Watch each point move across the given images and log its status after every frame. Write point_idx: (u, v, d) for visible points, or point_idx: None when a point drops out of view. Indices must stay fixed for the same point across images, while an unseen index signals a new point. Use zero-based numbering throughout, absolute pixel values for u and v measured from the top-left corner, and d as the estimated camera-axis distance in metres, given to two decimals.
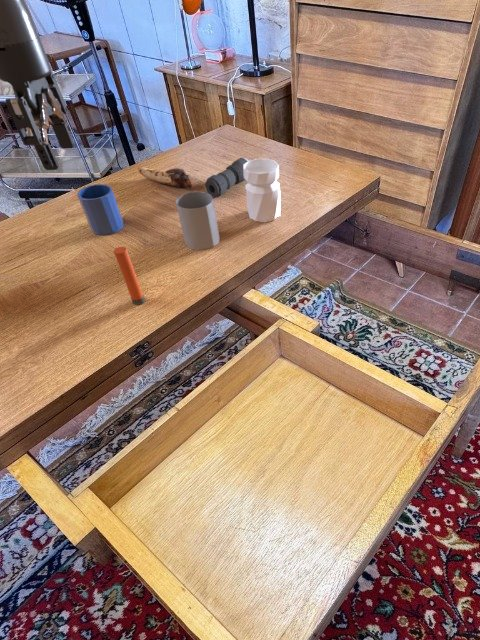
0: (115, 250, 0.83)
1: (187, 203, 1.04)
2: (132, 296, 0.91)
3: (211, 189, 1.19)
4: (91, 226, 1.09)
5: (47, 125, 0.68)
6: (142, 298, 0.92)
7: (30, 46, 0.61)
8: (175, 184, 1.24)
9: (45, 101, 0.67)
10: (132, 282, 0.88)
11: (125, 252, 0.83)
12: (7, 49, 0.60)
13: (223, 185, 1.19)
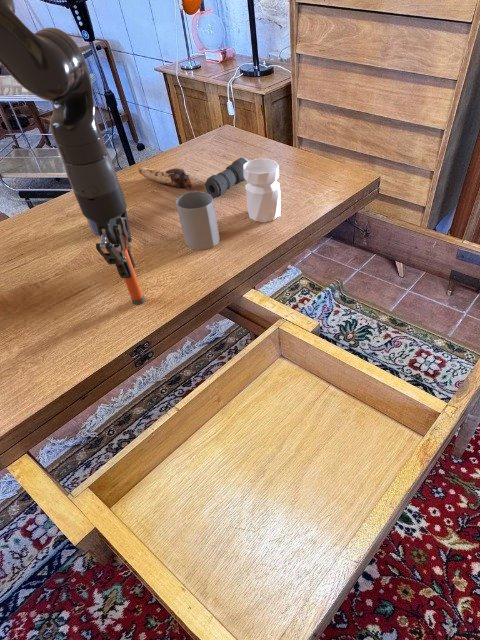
0: None
1: (187, 203, 1.04)
2: (132, 296, 0.91)
3: (211, 189, 1.19)
4: (91, 226, 1.09)
5: (124, 247, 0.81)
6: (142, 298, 0.92)
7: (113, 194, 0.74)
8: (175, 184, 1.24)
9: (120, 230, 0.79)
10: (132, 281, 0.88)
11: (125, 252, 0.83)
12: (96, 199, 0.72)
13: (223, 185, 1.19)
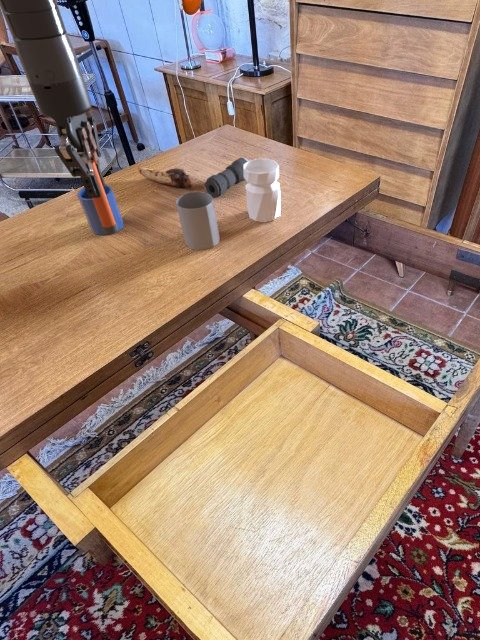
0: None
1: (187, 203, 1.04)
2: (103, 222, 0.80)
3: (211, 189, 1.19)
4: (91, 226, 1.09)
5: (90, 157, 0.71)
6: (114, 226, 0.81)
7: (74, 84, 0.63)
8: (175, 184, 1.24)
9: (85, 134, 0.69)
10: (102, 203, 0.78)
11: (92, 165, 0.73)
12: (53, 87, 0.62)
13: (223, 185, 1.19)
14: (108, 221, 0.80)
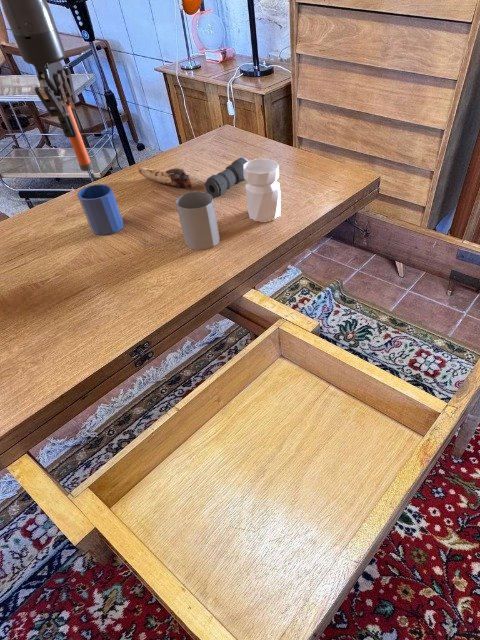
0: None
1: (187, 203, 1.04)
2: (79, 161, 0.95)
3: (211, 189, 1.19)
4: (91, 226, 1.09)
5: (66, 100, 0.86)
6: (89, 164, 0.96)
7: (50, 35, 0.78)
8: (175, 184, 1.24)
9: (60, 80, 0.84)
10: (77, 143, 0.93)
11: (68, 108, 0.88)
12: (32, 37, 0.77)
13: (223, 185, 1.19)
14: (83, 159, 0.95)
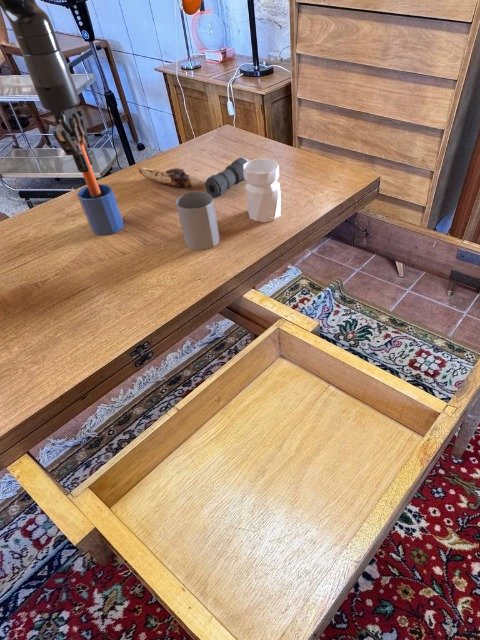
0: None
1: (187, 203, 1.04)
2: (91, 192, 1.04)
3: (211, 189, 1.19)
4: (91, 226, 1.09)
5: (80, 140, 0.95)
6: (100, 195, 1.06)
7: (66, 86, 0.87)
8: (175, 184, 1.24)
9: (75, 123, 0.93)
10: (89, 176, 1.02)
11: (81, 146, 0.97)
12: (51, 89, 0.86)
13: (223, 185, 1.19)
14: (95, 191, 1.04)
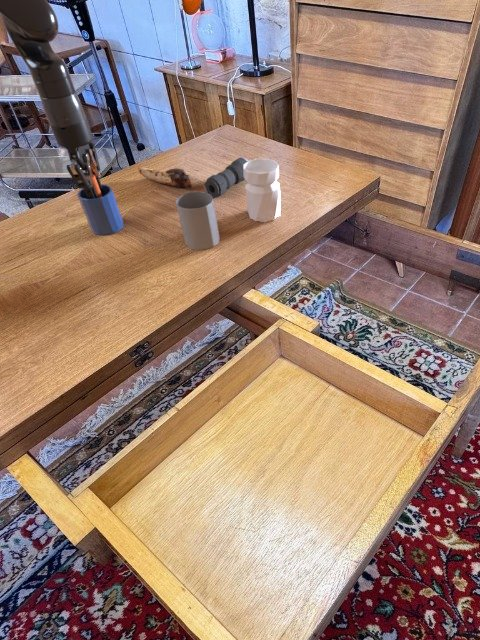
0: None
1: (187, 203, 1.04)
2: None
3: (211, 189, 1.19)
4: (91, 226, 1.09)
5: (91, 174, 1.00)
6: None
7: (81, 125, 0.93)
8: (175, 184, 1.24)
9: (88, 158, 0.98)
10: None
11: (93, 177, 1.02)
12: (66, 128, 0.92)
13: (223, 185, 1.19)
14: None
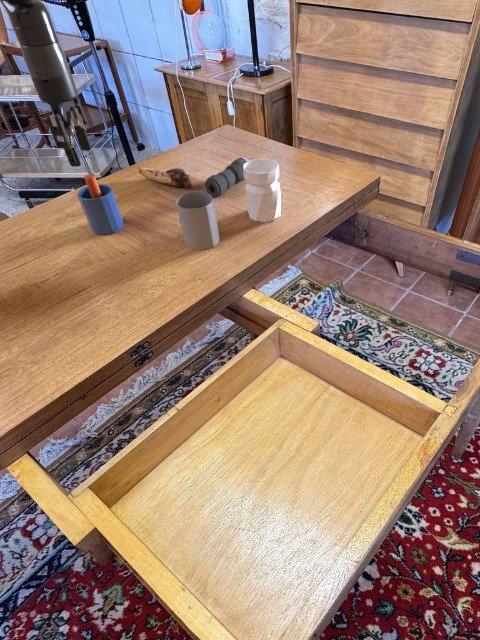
0: (85, 176, 1.03)
1: (187, 203, 1.04)
2: None
3: (211, 189, 1.19)
4: (91, 226, 1.09)
5: (74, 134, 0.93)
6: None
7: (64, 78, 0.87)
8: (175, 184, 1.24)
9: (73, 116, 0.92)
10: None
11: (93, 177, 1.02)
12: (49, 81, 0.85)
13: (223, 185, 1.19)
14: None
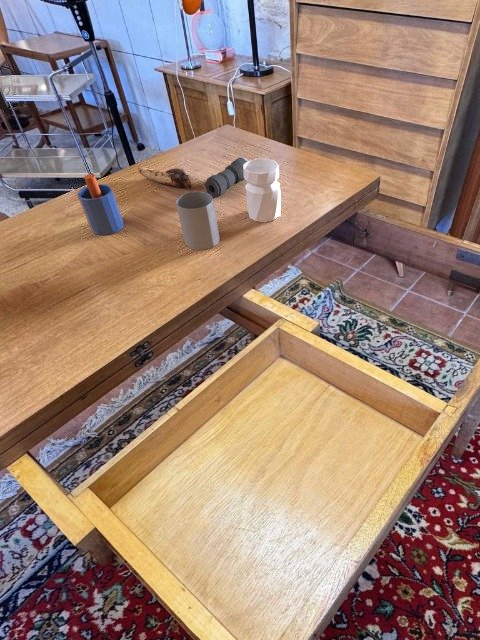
0: (85, 176, 1.03)
1: (187, 203, 1.04)
2: None
3: (211, 189, 1.19)
4: (91, 226, 1.09)
5: None
6: None
7: None
8: (175, 184, 1.24)
9: None
10: None
11: (93, 177, 1.02)
12: None
13: (223, 185, 1.19)
14: None
